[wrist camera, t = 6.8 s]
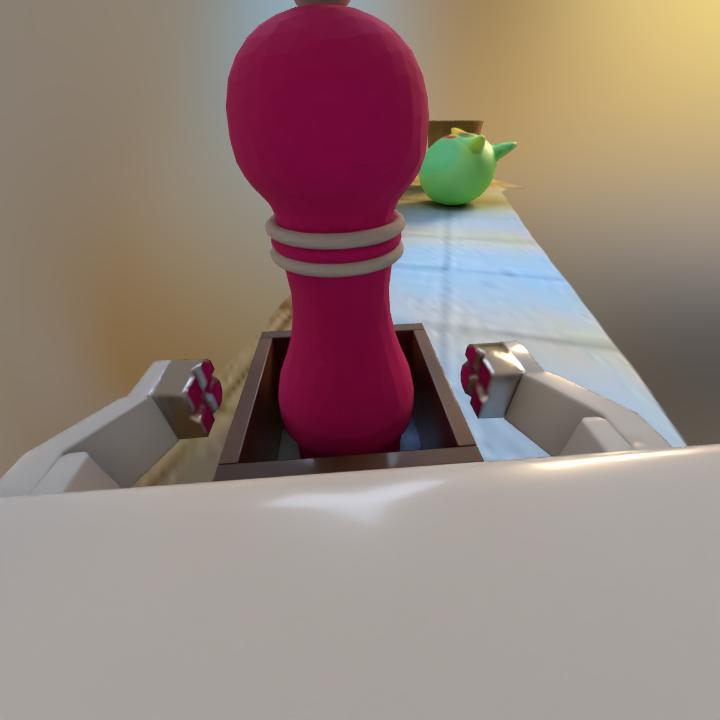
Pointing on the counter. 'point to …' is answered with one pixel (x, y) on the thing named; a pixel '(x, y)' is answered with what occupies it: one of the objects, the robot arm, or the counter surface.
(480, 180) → the toy bird
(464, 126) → the plant pot
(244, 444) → the mill holder
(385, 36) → the pepper mill
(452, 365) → the counter surface
